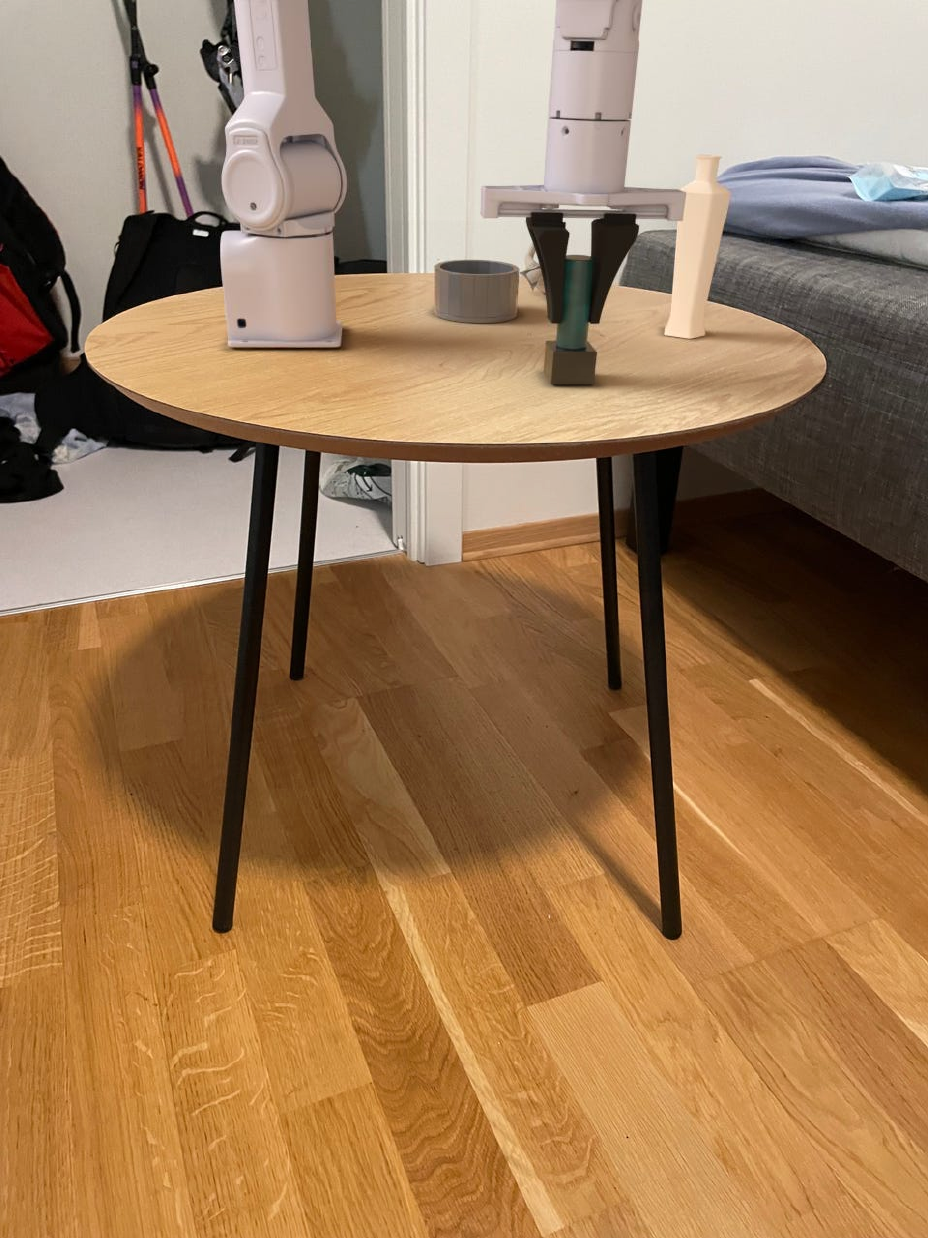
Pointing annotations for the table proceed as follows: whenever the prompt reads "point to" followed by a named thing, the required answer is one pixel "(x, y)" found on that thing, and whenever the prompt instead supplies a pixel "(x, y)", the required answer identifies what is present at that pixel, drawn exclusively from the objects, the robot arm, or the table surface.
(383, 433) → the table surface
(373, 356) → the table surface
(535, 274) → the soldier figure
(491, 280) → the low gray pot
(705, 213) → the peach faceted vase
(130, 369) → the table surface
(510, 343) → the table surface
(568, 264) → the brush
